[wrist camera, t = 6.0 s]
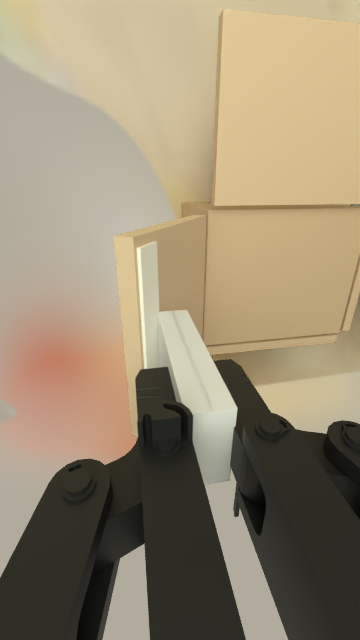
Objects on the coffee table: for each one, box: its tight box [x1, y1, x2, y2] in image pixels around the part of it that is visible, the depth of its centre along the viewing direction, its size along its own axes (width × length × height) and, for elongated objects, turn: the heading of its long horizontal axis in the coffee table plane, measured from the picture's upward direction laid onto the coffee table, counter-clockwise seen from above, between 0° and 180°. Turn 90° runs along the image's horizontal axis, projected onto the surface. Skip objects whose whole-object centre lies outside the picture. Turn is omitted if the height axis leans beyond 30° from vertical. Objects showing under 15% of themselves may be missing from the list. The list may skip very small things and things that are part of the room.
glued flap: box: [114, 215, 206, 437], centre depth 16 cm, size 1×10×9 cm
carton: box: [182, 9, 360, 355], centre depth 24 cm, size 13×20×10 cm, turn 0°
